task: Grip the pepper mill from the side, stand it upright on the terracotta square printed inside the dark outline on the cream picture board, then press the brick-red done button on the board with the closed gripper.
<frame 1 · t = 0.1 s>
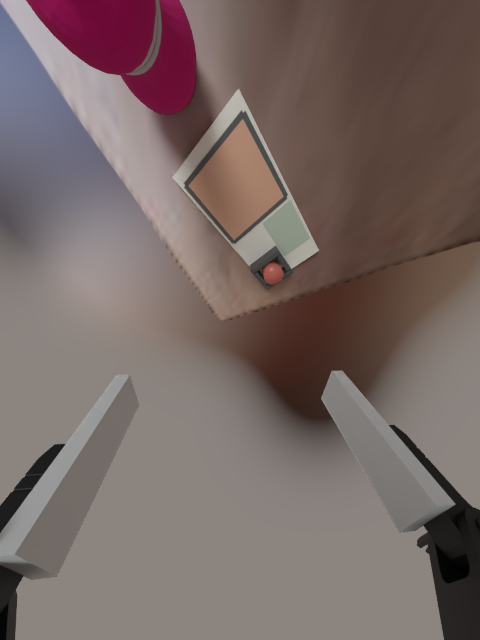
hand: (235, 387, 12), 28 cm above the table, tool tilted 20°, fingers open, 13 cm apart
picture board: (256, 217, 29), on the table
done button: (272, 272, 33), point 4 cm above the table, slide at 0.0 cm
pepper mill: (166, 67, 19), on the table
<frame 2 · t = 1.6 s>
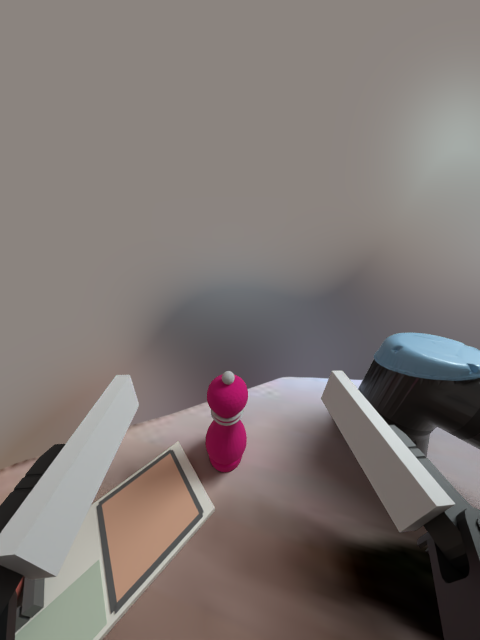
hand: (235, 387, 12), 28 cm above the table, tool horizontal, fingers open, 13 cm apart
picture board: (110, 549, 22), on the table
pepper mill: (225, 452, 33), on the table
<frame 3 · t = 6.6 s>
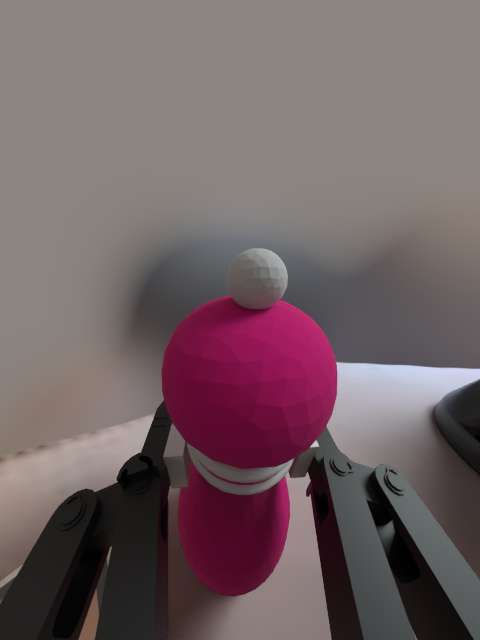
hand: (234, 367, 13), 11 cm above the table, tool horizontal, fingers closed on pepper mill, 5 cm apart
pepper mill: (231, 520, 14), on the table, touching gripper
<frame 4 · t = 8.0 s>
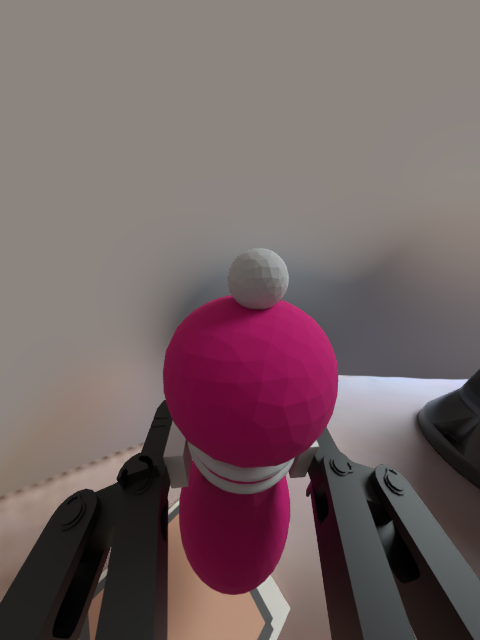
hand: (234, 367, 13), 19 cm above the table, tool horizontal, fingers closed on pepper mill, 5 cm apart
pepper mill: (232, 520, 14), point 8 cm above the table, touching gripper
when the fingers open (13 cm above the table, at t = 9.6 s): pepper mill drops 1 cm, resting on picture board.
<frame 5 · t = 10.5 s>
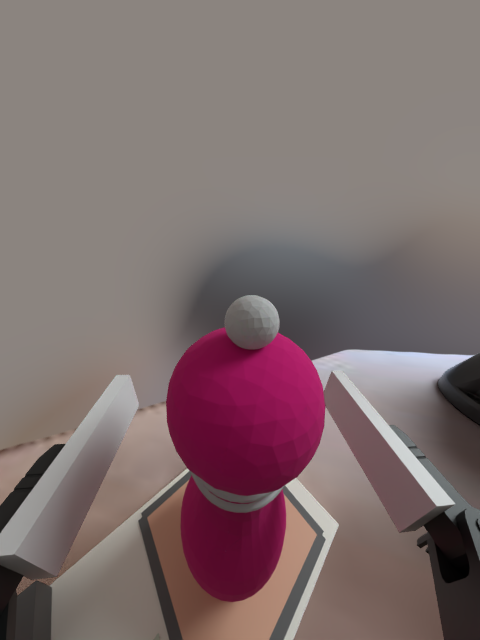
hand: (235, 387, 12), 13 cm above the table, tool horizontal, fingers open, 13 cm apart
picture board: (173, 604, 12), on the table
pepper mill: (231, 527, 14), point 1 cm above the table, touching picture board
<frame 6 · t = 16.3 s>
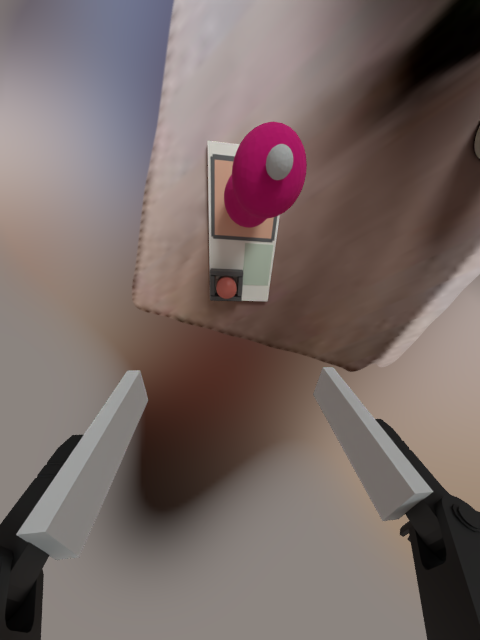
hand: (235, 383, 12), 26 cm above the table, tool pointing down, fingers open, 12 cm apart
picture board: (242, 236, 32), on the table
done button: (226, 287, 32), point 4 cm above the table, slide at 0.0 cm
pepper mill: (245, 203, 29), point 1 cm above the table, touching picture board
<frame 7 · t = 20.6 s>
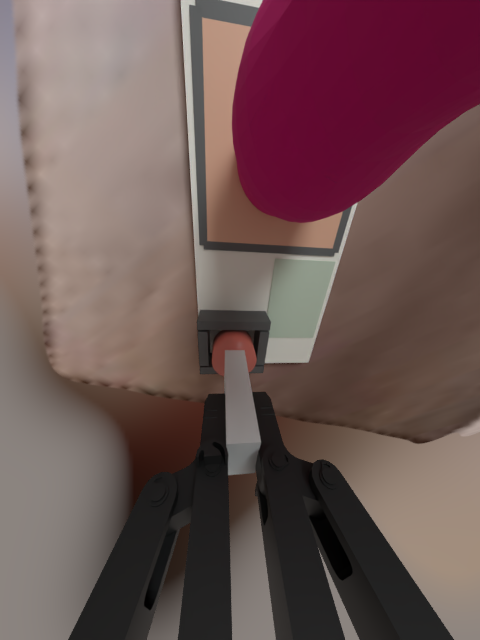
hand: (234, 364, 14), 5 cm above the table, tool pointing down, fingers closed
picture board: (269, 243, 15), on the table
done button: (233, 352, 15), point 4 cm above the table, slide at 0.1 cm, touching gripper
pepper mill: (283, 162, 11), point 1 cm above the table, touching picture board
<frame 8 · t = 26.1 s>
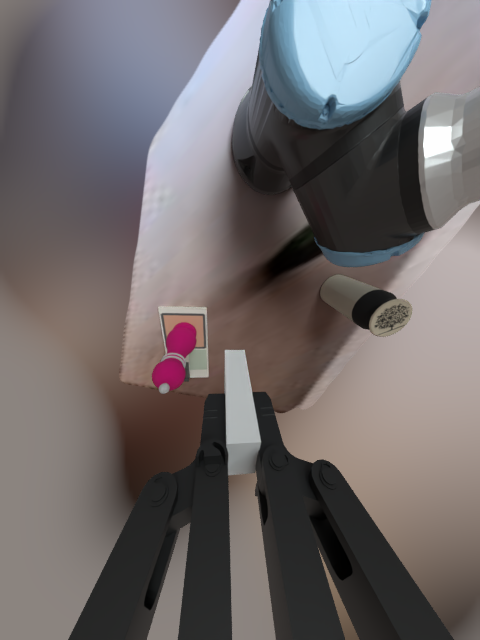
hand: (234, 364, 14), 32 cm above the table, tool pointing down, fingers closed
travel mug: (333, 288, 47), on the table
picture board: (187, 344, 51), on the table
pepper mill: (185, 331, 48), point 1 cm above the table, touching picture board
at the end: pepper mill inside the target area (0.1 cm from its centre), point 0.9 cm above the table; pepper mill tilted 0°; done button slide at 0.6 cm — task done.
